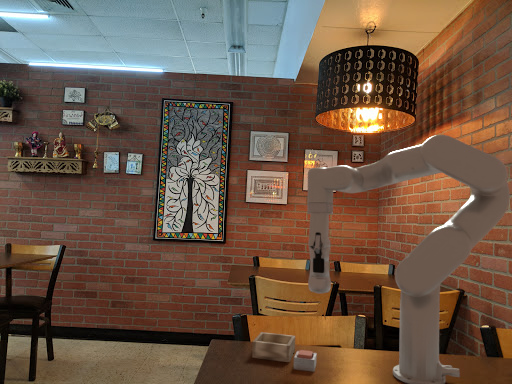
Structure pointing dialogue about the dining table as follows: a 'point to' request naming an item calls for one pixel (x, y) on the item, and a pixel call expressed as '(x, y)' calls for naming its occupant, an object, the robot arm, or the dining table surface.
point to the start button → (305, 354)
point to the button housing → (305, 363)
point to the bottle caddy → (274, 347)
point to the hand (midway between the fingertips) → (319, 270)
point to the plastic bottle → (320, 280)
